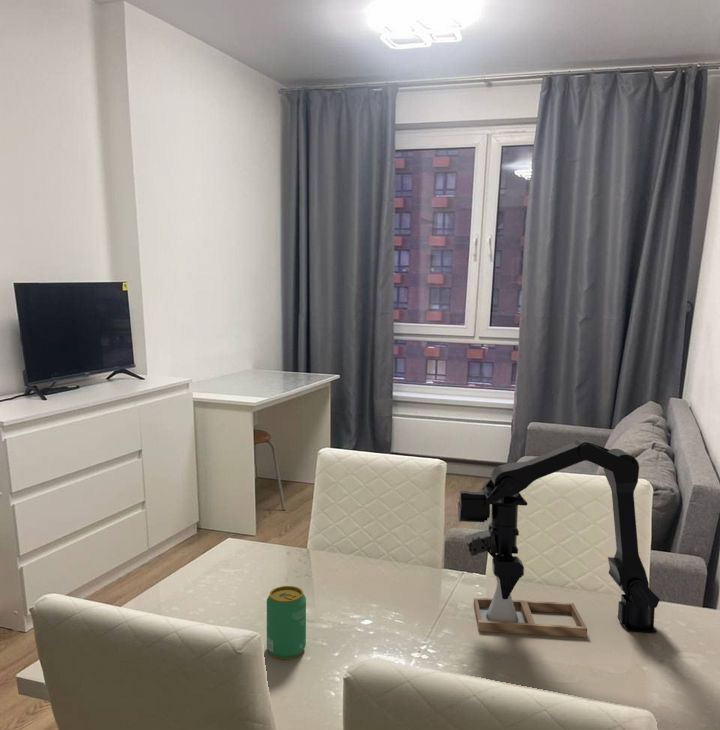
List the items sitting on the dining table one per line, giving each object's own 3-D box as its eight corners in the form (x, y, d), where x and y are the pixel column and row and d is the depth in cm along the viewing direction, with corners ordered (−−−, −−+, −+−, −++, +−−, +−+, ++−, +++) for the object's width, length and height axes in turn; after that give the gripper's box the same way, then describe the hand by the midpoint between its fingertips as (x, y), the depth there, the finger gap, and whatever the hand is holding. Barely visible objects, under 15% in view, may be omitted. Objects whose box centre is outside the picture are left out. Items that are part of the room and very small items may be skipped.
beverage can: (282, 635, 128) (283, 581, 127) (313, 646, 124) (313, 590, 123) (258, 653, 121) (258, 596, 121) (290, 665, 117) (290, 606, 116)
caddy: (573, 611, 140) (573, 603, 140) (586, 637, 129) (587, 628, 129) (473, 605, 143) (473, 597, 143) (478, 630, 131) (478, 622, 131)
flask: (519, 628, 132) (520, 584, 131) (485, 624, 134) (486, 581, 133) (517, 612, 139) (519, 571, 138) (486, 609, 141) (487, 567, 140)
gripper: (464, 508, 145) (463, 570, 146) (471, 535, 126) (469, 607, 127) (511, 510, 144) (509, 572, 145) (525, 538, 125) (522, 610, 126)
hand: (501, 589), depth 136 cm, fingers open, 9 cm apart
